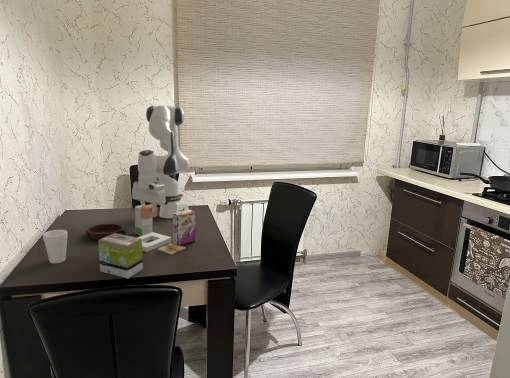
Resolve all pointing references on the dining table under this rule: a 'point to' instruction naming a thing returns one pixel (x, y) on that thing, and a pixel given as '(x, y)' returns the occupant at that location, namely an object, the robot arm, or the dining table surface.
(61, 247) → the foam cup
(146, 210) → the part
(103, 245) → the tea box
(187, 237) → the candy bar box
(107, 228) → the dish
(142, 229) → the skincare box
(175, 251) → the cork pad
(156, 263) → the dining table surface
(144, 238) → the pocket board
